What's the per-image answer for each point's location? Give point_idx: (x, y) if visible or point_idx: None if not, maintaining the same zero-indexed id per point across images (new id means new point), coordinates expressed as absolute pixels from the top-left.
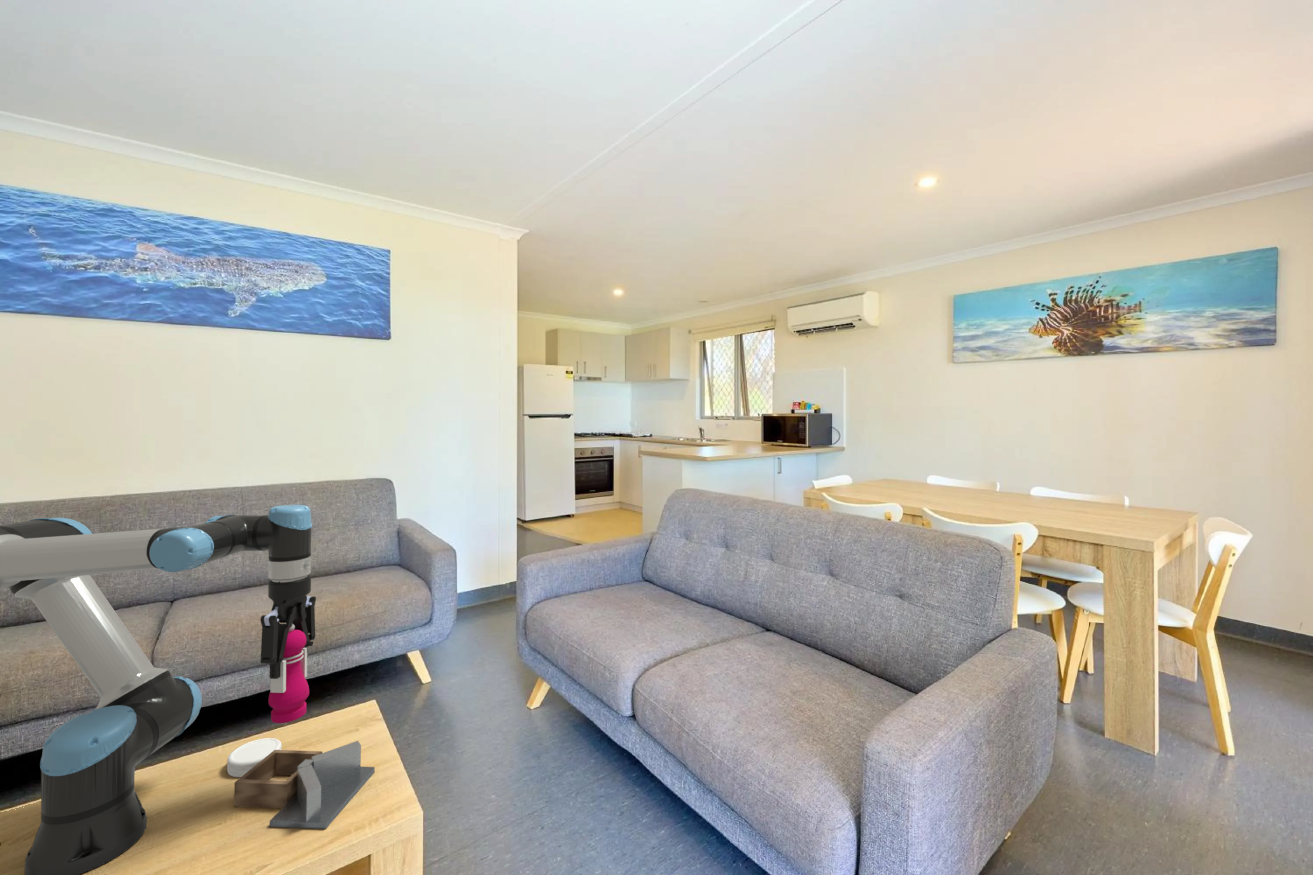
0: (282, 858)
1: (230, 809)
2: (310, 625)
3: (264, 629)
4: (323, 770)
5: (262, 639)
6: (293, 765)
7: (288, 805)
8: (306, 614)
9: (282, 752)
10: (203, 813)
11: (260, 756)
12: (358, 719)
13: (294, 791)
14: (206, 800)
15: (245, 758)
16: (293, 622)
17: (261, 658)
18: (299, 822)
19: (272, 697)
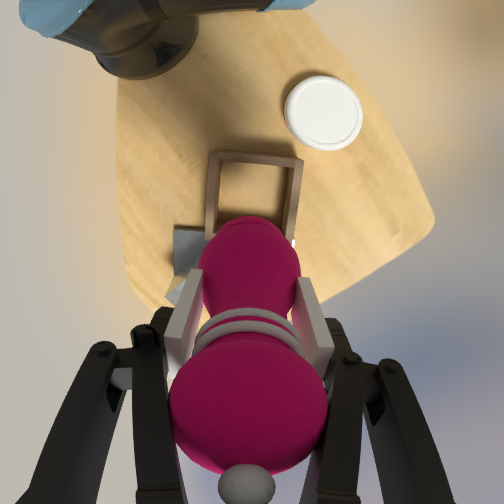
0: (134, 271)
1: (208, 149)
2: (376, 451)
3: (39, 482)
4: None
5: (52, 432)
6: (287, 196)
7: (202, 236)
8: (396, 495)
9: (293, 180)
10: (200, 116)
11: (307, 131)
12: (421, 221)
13: None
14: (229, 99)
15: (302, 109)
16: (309, 491)
17: (87, 359)
18: (174, 267)
19: (200, 262)
